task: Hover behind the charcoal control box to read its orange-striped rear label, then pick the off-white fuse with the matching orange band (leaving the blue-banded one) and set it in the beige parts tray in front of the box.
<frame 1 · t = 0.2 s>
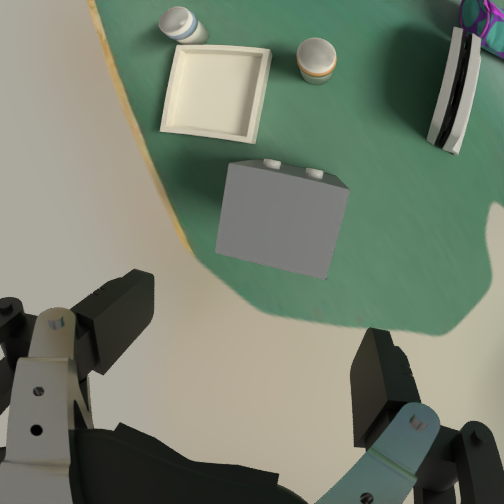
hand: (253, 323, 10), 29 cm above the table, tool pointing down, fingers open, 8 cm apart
control box: (291, 197, 37), on the table
orange-band fuse: (316, 70, 31), on the table
parts tray: (217, 92, 35), on the table
white slotted rounded block: (447, 92, 28), on the table
blue-band fuse: (195, 37, 32), on the table
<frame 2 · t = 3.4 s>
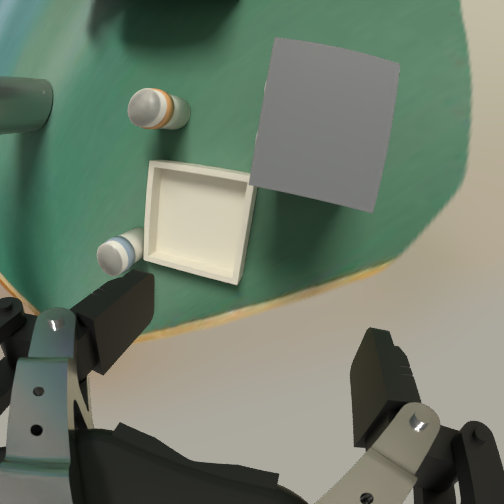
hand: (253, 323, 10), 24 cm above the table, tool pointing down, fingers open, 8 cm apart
control box: (322, 133, 29), on the table
orange-band fuse: (175, 113, 31), on the table
parts tray: (200, 217, 35), on the table
blue-band fuse: (139, 241, 38), on the table
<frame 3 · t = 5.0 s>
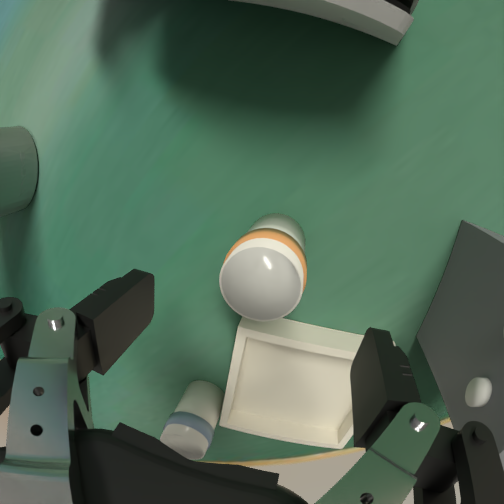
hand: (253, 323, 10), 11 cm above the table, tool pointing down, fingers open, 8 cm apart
control box: (476, 291, 19), on the table
orange-band fuse: (276, 241, 20), on the table
parts tray: (301, 382, 24), on the table
blue-band fuse: (206, 394, 27), on the table
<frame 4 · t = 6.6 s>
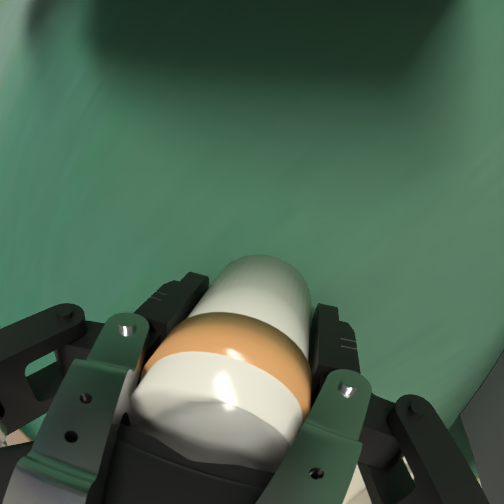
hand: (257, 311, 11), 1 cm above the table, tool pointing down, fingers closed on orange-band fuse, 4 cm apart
orange-band fuse: (261, 301, 12), on the table, touching gripper
parts tray: (301, 466, 15), on the table
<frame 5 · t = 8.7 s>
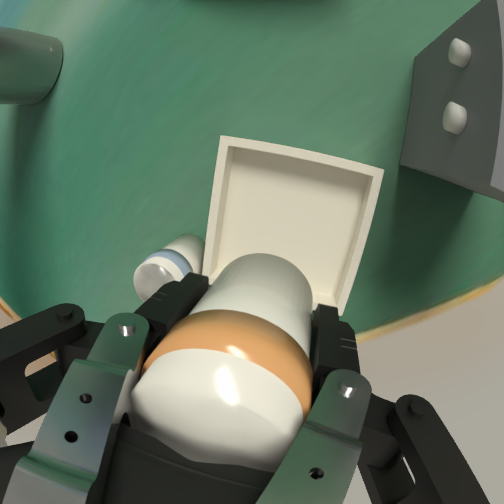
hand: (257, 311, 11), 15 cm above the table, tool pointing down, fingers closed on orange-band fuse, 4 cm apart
control box: (449, 123, 19), on the table
orange-band fuse: (262, 300, 12), point 14 cm above the table, touching gripper
parts tray: (289, 222, 25), on the table
blue-band fuse: (190, 254, 28), on the table
when the fingers open (3 cm above the table, at t = 11.2 s): orange-band fuse drops 1 cm, resting on parts tray.
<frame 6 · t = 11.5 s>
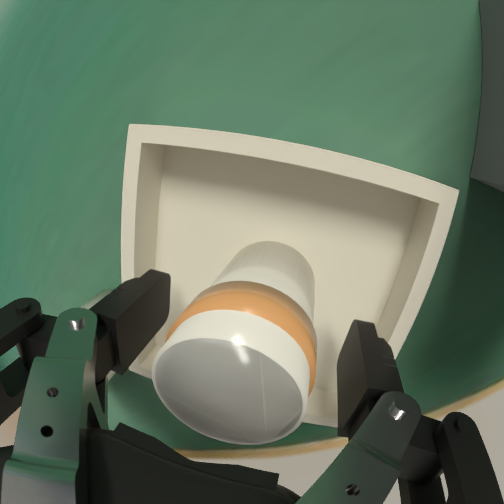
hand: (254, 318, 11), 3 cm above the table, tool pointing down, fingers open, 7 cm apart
orange-band fuse: (269, 284, 13), point 1 cm above the table, touching parts tray
parts tray: (268, 281, 14), on the table
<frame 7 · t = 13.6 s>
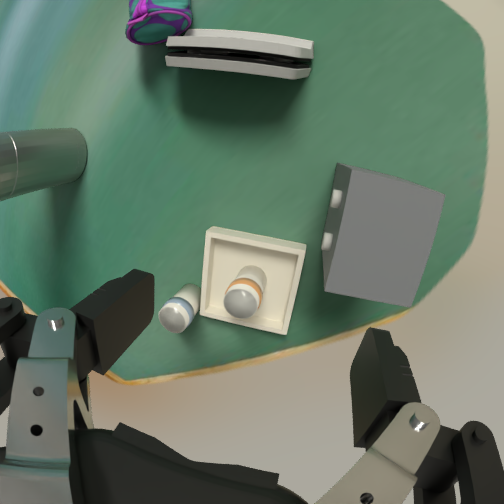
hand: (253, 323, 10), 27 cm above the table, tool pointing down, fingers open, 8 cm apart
control box: (360, 209, 34), on the table
orange-band fuse: (252, 279, 40), point 1 cm above the table, touching parts tray
parts tray: (251, 278, 40), on the table
white slotted rounded block: (245, 58, 31), on the table
blue-band fuse: (192, 295, 43), on the table
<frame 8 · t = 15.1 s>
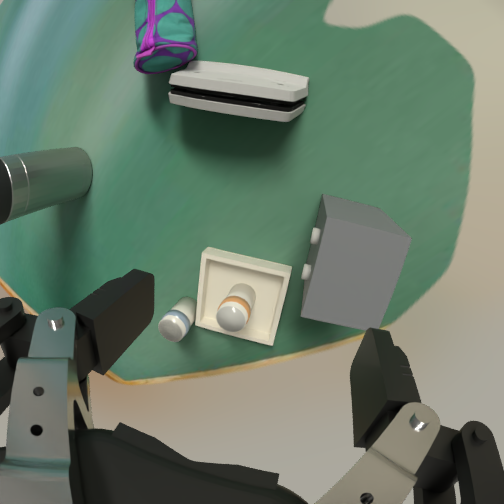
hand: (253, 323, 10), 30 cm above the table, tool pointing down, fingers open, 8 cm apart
control box: (342, 236, 39), on the table
pencil case: (175, 16, 33), on the table
orange-band fuse: (242, 295, 44), point 1 cm above the table, touching parts tray
parts tray: (242, 294, 45), on the table
white slotted rounded block: (244, 92, 35), on the table
blue-band fuse: (188, 307, 47), on the table
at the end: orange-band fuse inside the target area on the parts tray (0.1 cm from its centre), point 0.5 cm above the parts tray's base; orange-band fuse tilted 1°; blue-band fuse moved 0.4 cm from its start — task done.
